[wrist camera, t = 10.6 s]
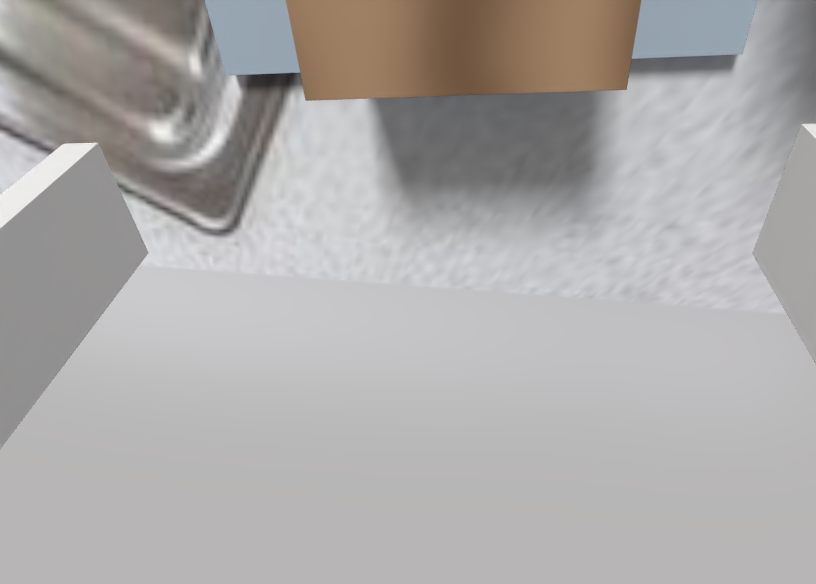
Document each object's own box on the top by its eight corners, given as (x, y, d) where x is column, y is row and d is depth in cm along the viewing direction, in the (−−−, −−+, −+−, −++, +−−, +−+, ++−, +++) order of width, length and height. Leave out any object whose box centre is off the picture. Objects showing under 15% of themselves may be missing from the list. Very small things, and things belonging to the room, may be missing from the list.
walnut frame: (348, 35, 27) (306, 104, 21) (336, -56, 24) (284, -7, 18) (594, 23, 25) (625, 94, 19) (606, -75, 23) (645, -29, 17)
